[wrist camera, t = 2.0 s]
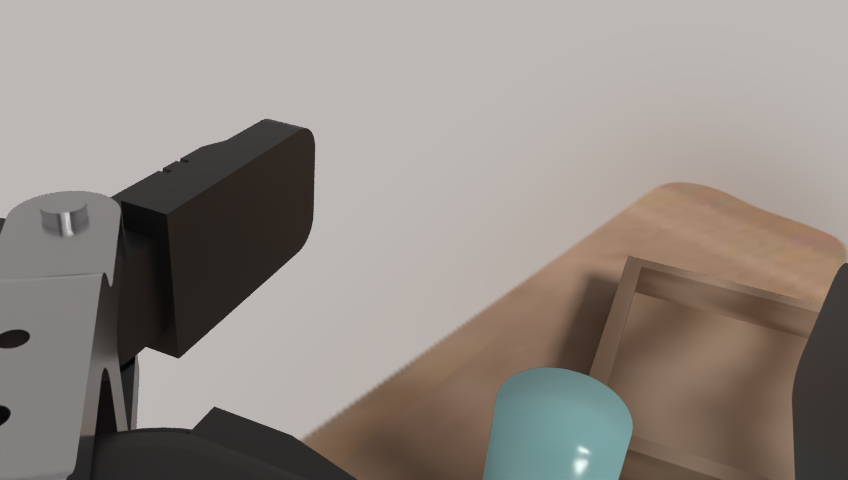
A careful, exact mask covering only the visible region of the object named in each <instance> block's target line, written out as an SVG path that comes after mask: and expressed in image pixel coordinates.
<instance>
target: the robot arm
mask: <svg viewBox="0 0 848 480" xmlns="http://www.w3.org/2000/svg"><path fill="white" fill-rule="evenodd" d="M314 166H315V142H314V136H313V134H312V132H311V131H310V130H309V129H307V128H302V127H299V126H295V125H290V124H287V123H283V122H278V121H274V120H270V119H264V120H261V121H260V122H258V123H256V124H254V125H253V126H251V127H249V128H247V129H246V130H244V131H242V132H240V133H239V134H237V135H235V136H233V137H232V138H230V139H228V140H226V141H223V142H219V143H214V144H211V145H207V146H203V147H201V148H199V149H197V150H195V151H194V152H192V153H190V154H188V155H186V156H184V157H183V158H181V160H180V162H178V161H175V162H174V163H172V164H170V165H168V166H166V167H164V168H163V171H162V172H161V171H157V172H156V173H154V174H152V175H150V176H148V177H147V178H145V179H143V180H141V181H139V182H137V183H136V184H134V185H132V186H130V187H128V188H127V189H125V190H123V191H121V192H119V193H118V194H116V195H114V196H112V197H107V196H105V195H102V194H98V193H92V192H84V191H66V192H56V193H50V194H45V195H41V196H38V197H35V198H32V199H30V200H27V201H25V202H23V203H21V204H19V205H18V206H16V207H15V208H13V209H12V210H11V211H10V213H9V214H8V216H7V218H6V219H4V218H0V480H357V479H355V478H354V477H352V476H351V475H349V474H348V473H347V472H345V471H344V470H342V469H341V468H339V467H338V466H336V465H335V464H333V463H332V462H330V461H329V460H327V459H326V458H324V457H323V456H321V455H320V454H318V453H317V452H315V451H314V450H312V449H311V448H309V447H308V446H307V445H305V444H304V443H302V442H301V441H299V440H298V439H296V438H294V437H293V436H291V435H289V434H286V433H283V432H281V431H278V430H276V429H273V428H270V427H268V426H265V425H262V424H259V423H257V422H254V421H252V420H249V419H246V418H243V417H241V416H238V415H235V414H233V413H230V412H227V411H225V410H222V409H219V408H216V407H214V408H213V409H212V410H211V411H210V412H209V413H208V414H207V415H206V416H205V417H204V418H203V419H202V420H201V421H200V422H199V423H198V424H197V425H196V426H195V427H194V428H193V429H192V430H191V429H183V428H142V429H136V424H137V406H138V405H137V404H138V387H139V364H138V356H137V354H138V353H139V352H140V351H141V350H143V349H144V348H145V347H148V348H151V349H154V350H157V351H159V352H162V353H165V354H168V355H170V356H173V357H176V358H180V357H181V356H182V355H183V354H185V353H186V352H187V351H188V350H189V349H190V348H191V347H192V346H193V345H194V344H196V343H197V342H198V341H199V340H200V339H201V338H202V337H204V336H205V335H206V334H207V333H208V332H209V331H210V330H211V329H212V328H214V327H215V326H216V325H217V324H218V323H219V322H220V321H222V320H223V319H224V318H225V317H226V316H227V315H228V314H229V313H231V312H232V311H233V310H234V309H235V308H236V307H237V306H238V305H239V304H240V303H242V302H243V301H244V300H245V299H246V298H247V297H248V296H250V294H252V293H253V292H254V291H255V290H256V289H257V288H258V287H259V286H261V285H262V284H263V283H264V282H265V281H266V280H268V279H269V278H270V277H271V276H272V275H273V274H274V273H275V272H277V270H279V269H280V268H281V267H282V266H283V265H284V264H285V263H287V262H288V261H289V260H290V259H291V258H292V257H293V256H294V255H296V254H297V253H298V252H299V251H300V250H301V249H302V247H303V246H304V244H305V242H306V240H307V239H308V236H309V234H310V230H311V227H312V222H313V211H314V170H315V167H314ZM792 417H793V442H794V466H795V480H848V263H845V264H843V265H842V266H841V267H840V269H839V270H838V272H837V274H836V276H835V278H834V280H833V282H832V285H831V287H830V289H829V292H828V294H827V296H826V299H825V301H824V303H823V306H822V308H821V310H820V313H819V315H818V318H817V320H816V322H815V325H814V327H813V329H812V332H811V334H810V336H809V339H808V341H807V343H806V346H805V348H804V351H803V353H802V355H801V358H800V361H799V364H798V367H797V371H796V374H795V379H794V384H793V390H792Z"/></svg>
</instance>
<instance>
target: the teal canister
mask: <svg viewBox="0 0 848 480" xmlns="http://www.w3.org/2000/svg"><path fill="white" fill-rule="evenodd" d="M632 429H633V425H632V418H631V415H630V413H629V410H628V408H627V407H626V405H625V403H624V402H623V401H622V400H621V398H620V397H619V396H618V395H617V394H616V393H615V392H614V391H612V390H611V389H610V388H609V387H607V386H606V385H604V384H603V383H601V382H599V381H598V380H596V379H594V378H592V377H589V376H587V375H585V374H582V373H579V372H576V371H572V370H567V369H562V368H547V367H544V368H534V369H529V370H525V371H522V372H520V373H517V374H515V375H514V376H512V377H510V378H509V379H508V380H507V381H505V382H504V384H503V385H502V386H501V387H500V389H499V391H498V394H497V396H496V402H495V408H494V414H493V420H492V426H491V432H490V438H489V444H488V450H487V456H486V462H485V468H484V474H483V479H482V480H619V476H620V473H621V469H622V466H623V462H624V459H625V456H626V452H627V449H628V445H629V442H630V439H631V435H632Z"/></svg>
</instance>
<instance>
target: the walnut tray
mask: <svg viewBox="0 0 848 480" xmlns="http://www.w3.org/2000/svg"><path fill="white" fill-rule="evenodd" d="M822 306H823V305H820V304H816V303H812V302H808V301H804V300H800V299H796V298H792V297H788V296H784V295H781V294H777V293H773V292H769V291H765V290H761V289H757V288H753V287H749V286H745V285H741V284H737V283H733V282H730V281H726V280H722V279H718V278H714V277H710V276H706V275H702V274H698V273H694V272H690V271H686V270H683V269H679V268H675V267H671V266H667V265H663V264H659V263H655V262H651V261H647V260H643V259H639V258H636V257H632V256H628V258H627V261H626V264H625V267H624V270H623V273H622V276H621V279H620V282H619V285H618V288H617V291H616V294H615V297H614V300H613V303H612V307H611V310H610V313H609V316H608V319H607V322H606V325H605V328H604V331H603V334H602V337H601V340H600V343H599V346H598V349H597V352H596V355H595V358H594V361H593V364H592V367H591V370H590V373H589V377H592V378H594V379H596V380H598V381H599V382H601V383H603V384H604V385H606V386H607V387H609V388H610V389H611V390H612V391H614V392H615V393H616V394H617V395H618V396H619V397H620V398H621V400H622V401H623V402H624V403H625V405H626V407H627V408H628V410H629V413H630V415H631V418H632V425H633V429H632V435H631V439H630V442H629V445H628V449H627V452H626V456H625V459H624V462H623V466H622V469H621V473H620V476H619V480H795V466H794V442H793V417H792V390H793V384H794V379H795V374H796V371H797V367H798V364H799V361H800V358H801V355H802V353H803V351H804V348H805V346H806V343H807V341H808V339H809V336H810V334H811V332H812V329H813V327H814V325H815V322H816V320H817V318H818V315H819V313H820V310H821V308H822Z"/></svg>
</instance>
